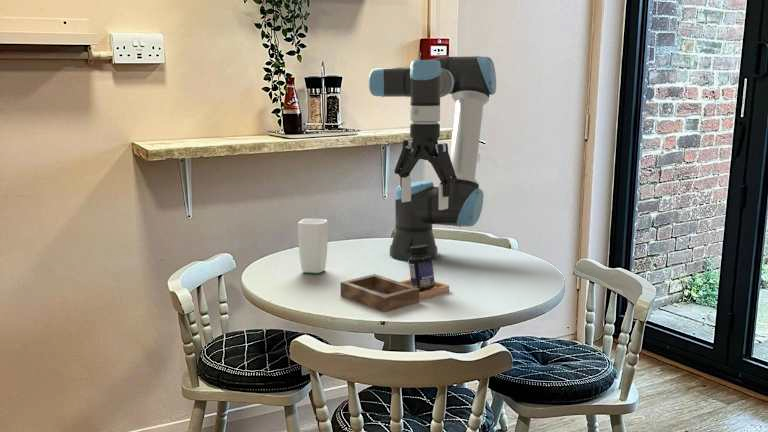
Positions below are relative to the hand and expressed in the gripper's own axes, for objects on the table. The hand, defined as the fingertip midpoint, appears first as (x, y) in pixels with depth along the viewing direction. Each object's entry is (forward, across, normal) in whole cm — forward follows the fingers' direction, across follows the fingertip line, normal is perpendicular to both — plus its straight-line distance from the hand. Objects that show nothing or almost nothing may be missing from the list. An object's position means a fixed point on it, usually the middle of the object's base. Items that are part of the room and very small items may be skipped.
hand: (424, 205), depth 175 cm
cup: (+23, -32, -13) cm, 41 cm away
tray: (+22, +1, -3) cm, 22 cm away
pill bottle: (+21, +3, -3) cm, 22 cm away
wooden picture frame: (+22, -1, -15) cm, 27 cm away
